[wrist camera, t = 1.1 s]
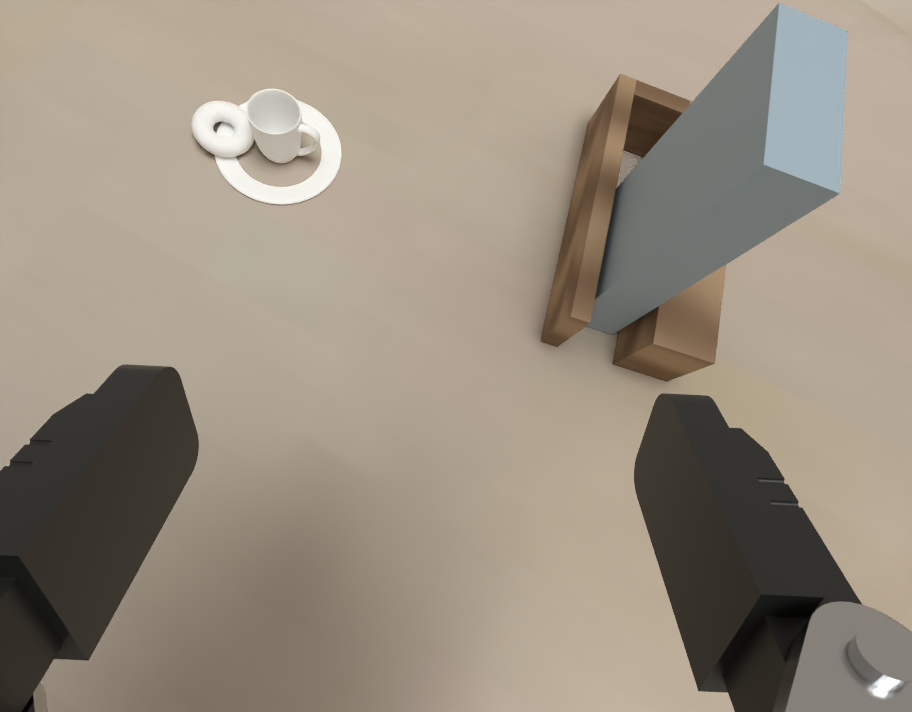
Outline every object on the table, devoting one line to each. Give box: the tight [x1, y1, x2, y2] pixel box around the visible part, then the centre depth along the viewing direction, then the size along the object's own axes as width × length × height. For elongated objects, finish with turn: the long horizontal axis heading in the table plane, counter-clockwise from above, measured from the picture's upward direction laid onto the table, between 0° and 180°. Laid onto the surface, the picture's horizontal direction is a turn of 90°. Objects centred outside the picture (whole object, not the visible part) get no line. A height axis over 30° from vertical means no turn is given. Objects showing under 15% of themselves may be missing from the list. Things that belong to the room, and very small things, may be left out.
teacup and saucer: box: [192, 89, 342, 205], centre depth 34 cm, size 9×8×4 cm
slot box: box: [541, 74, 726, 381], centre depth 37 cm, size 18×9×5 cm, turn 165°
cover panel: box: [587, 3, 848, 335], centre depth 30 cm, size 8×3×18 cm, turn 165°
